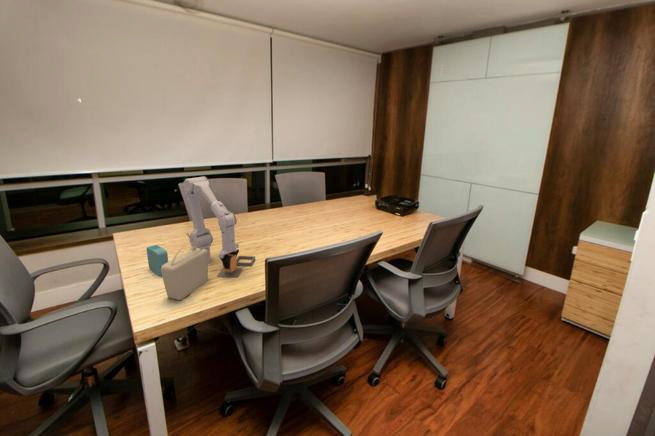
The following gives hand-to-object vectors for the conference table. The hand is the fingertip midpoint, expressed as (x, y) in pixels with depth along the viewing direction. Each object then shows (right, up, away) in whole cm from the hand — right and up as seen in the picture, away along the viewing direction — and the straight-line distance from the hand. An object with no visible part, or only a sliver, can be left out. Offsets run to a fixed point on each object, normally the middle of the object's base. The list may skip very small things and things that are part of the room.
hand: (229, 266), depth 154 cm
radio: (-14, -8, -14) cm, 21 cm away
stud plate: (0, -4, +1) cm, 4 cm away
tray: (+4, -1, +13) cm, 13 cm away
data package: (-34, -3, +1) cm, 34 cm away
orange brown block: (0, -2, 0) cm, 2 cm away
